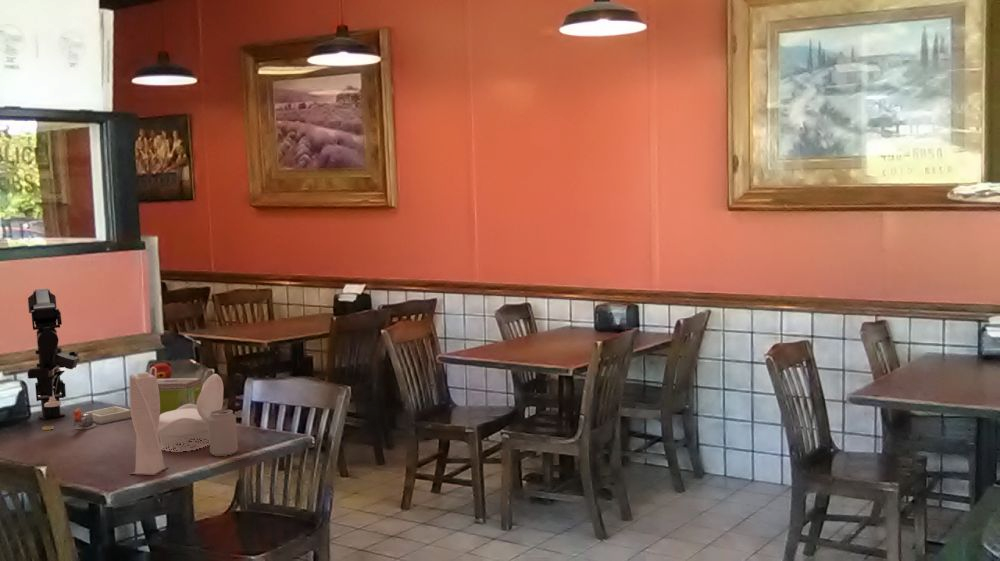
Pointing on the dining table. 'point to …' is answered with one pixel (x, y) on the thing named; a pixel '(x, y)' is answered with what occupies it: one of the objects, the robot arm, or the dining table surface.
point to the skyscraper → (146, 422)
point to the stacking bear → (162, 370)
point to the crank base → (86, 426)
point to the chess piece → (52, 401)
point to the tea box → (178, 392)
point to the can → (222, 433)
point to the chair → (191, 417)
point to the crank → (82, 418)
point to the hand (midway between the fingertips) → (51, 395)
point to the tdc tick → (47, 427)
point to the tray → (110, 414)
